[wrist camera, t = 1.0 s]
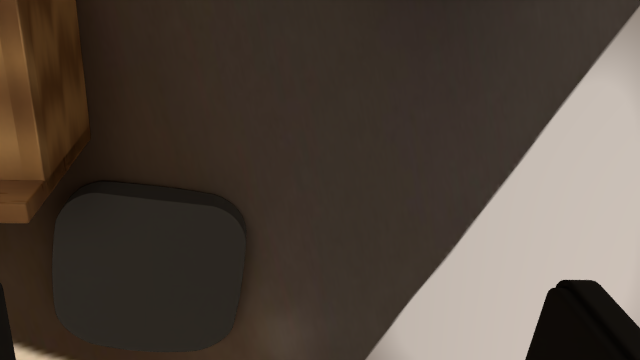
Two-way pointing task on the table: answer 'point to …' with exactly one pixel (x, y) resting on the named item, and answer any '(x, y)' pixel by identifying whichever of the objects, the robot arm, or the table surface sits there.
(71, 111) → the step shelf
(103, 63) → the table surface
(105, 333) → the media streaming box
